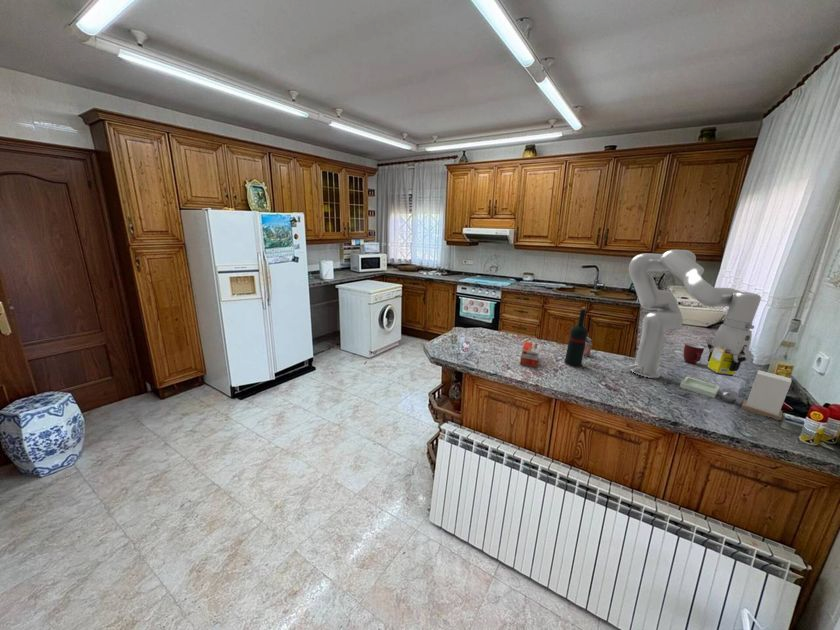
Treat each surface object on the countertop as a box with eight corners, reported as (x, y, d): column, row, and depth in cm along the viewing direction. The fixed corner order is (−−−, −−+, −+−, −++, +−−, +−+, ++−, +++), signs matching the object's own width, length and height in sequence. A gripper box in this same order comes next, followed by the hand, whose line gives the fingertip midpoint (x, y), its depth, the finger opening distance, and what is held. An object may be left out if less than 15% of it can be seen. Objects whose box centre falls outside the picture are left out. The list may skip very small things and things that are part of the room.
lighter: (577, 351, 184) (580, 335, 182) (582, 351, 185) (586, 335, 182) (585, 357, 177) (589, 339, 174) (591, 357, 177) (594, 340, 174)
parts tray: (714, 398, 138) (715, 393, 137) (679, 387, 146) (680, 383, 146) (718, 390, 145) (719, 386, 145) (685, 380, 154) (686, 376, 154)
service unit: (780, 421, 122) (795, 384, 118) (740, 408, 130) (753, 373, 126) (781, 414, 128) (795, 378, 124) (743, 402, 136) (755, 368, 131)
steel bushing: (729, 404, 133) (732, 395, 132) (716, 398, 138) (719, 389, 137) (738, 403, 134) (741, 395, 133) (725, 397, 139) (728, 389, 138)
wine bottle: (579, 360, 171) (590, 305, 163) (582, 367, 162) (594, 310, 154) (563, 358, 173) (573, 303, 165) (565, 365, 164) (576, 308, 156)
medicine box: (536, 368, 159) (539, 352, 157) (519, 364, 162) (521, 349, 159) (538, 357, 172) (540, 343, 170) (522, 354, 175) (524, 340, 173)
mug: (706, 368, 171) (712, 350, 168) (690, 366, 172) (695, 349, 169) (691, 360, 181) (696, 343, 179) (677, 359, 182) (681, 342, 179)
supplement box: (733, 376, 126) (743, 351, 123) (716, 374, 127) (725, 349, 124) (722, 370, 132) (731, 345, 129) (706, 368, 133) (714, 343, 130)
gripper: (771, 331, 116) (754, 376, 121) (721, 317, 133) (707, 356, 138) (755, 331, 115) (738, 376, 120) (706, 317, 131) (692, 357, 136)
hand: (721, 365), depth 129 cm, fingers closed on supplement box, 7 cm apart
